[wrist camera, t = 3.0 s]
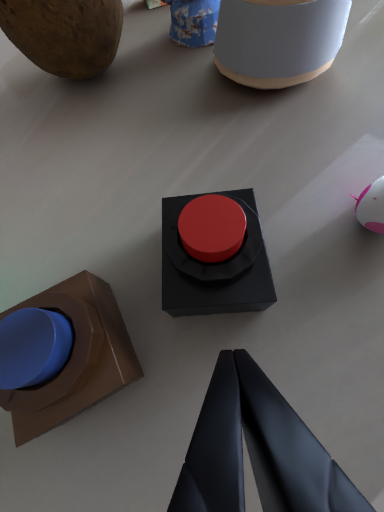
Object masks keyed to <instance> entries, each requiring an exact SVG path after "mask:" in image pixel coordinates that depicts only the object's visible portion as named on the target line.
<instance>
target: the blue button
mask: <svg viewBox="0 0 384 512" xmlns="http://www.w3.org/2000/svg"><path fill="white" fill-rule="evenodd" d="M73 344H74V332H73V328H72V325H71V323H70V322H69V320H68V319H67V318H66V317H65V316H63V315H62V314H60V313H56V312H52V311H48V310H43V309H38V308H23V309H20V310H17V311H15V312H13V313H11V314H9V315H8V316H6V317H5V318H4V319H3V320H2V321H0V389H3V390H11V389H17V388H22V387H26V386H31V385H36V384H40V383H43V382H46V381H48V380H49V379H51V378H53V377H54V376H55V375H56V374H57V373H58V372H59V371H60V370H61V369H62V368H63V367H64V366H65V364H66V363H67V361H68V359H69V357H70V355H71V352H72V349H73Z"/></svg>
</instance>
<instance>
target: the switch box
mask: <svg viewBox="0 0 384 512" xmlns="http://www.w3.org/2000/svg"><path fill="white" fill-rule="evenodd" d="M212 194H213V195H222V196H225V197H228V198H230V199H232V200H233V201H235V202H236V203H237V204H238V205H239V206H240V207H241V208H242V210H243V212H244V214H245V217H246V229H245V233H244V237H243V241H242V244H241V246H240V248H239V250H238V251H237V252H236V253H235V254H234V255H233V256H232V257H231V258H229V259H227V260H225V261H222V262H219V263H205V262H201V261H198V260H196V259H195V258H193V257H192V256H191V255H189V254H188V252H187V251H186V250H185V248H184V246H183V243H182V240H181V237H180V233H179V230H178V220H179V216H180V214H181V212H182V210H183V209H184V207H185V206H186V205H187V204H188V203H189V202H191V201H192V200H194V199H196V198H198V197H200V196H204V195H212ZM275 302H277V297H276V293H275V288H274V283H273V279H272V274H271V269H270V265H269V260H268V255H267V251H266V246H265V241H264V237H263V232H262V227H261V223H260V218H259V213H258V209H257V204H256V199H255V195H254V190H253V188H249V189H240V190H231V191H222V192H213V193H204V194H195V195H186V196H177V197H167V198H162V310H163V311H165V312H166V313H168V314H169V315H170V316H172V317H184V316H198V315H212V314H226V313H240V312H255V311H265V310H266V309H267V308H269V307H270V306H271V305H273V304H274V303H275Z"/></svg>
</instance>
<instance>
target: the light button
mask: <svg viewBox="0 0 384 512" xmlns="http://www.w3.org/2000/svg"><path fill="white" fill-rule="evenodd" d="M245 229H246V217H245V214H244V212H243V210H242V208H241V207H240V206H239V205H238V204H237V203H236V202H235V201H233V200H232V199H230V198H228V197H225V196H222V195H213V194H212V195H204V196H200V197H198V198H196V199H194V200H192V201H191V202H189V203H188V204H187V205H186V206H185V207H184V209H183V210H182V212H181V214H180V216H179V220H178V230H179V233H180V237H181V240H182V243H183V246H184V248H185V250H186V251H187V252H188V254H189V255H191V256H192V257H193V258H195V259H196V260H198V261H201V262H205V263H219V262H222V261H225V260H227V259H229V258H231V257H232V256H233V255H234V254H235V253H236V252H237V251H238V250H239V248H240V246H241V244H242V241H243V237H244V233H245Z"/></svg>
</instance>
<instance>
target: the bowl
mask: <svg viewBox="0 0 384 512" xmlns="http://www.w3.org/2000/svg"><path fill="white" fill-rule="evenodd" d="M123 14H124V11H123V6H122V2H121V0H0V27H1V29H2V31H3V32H4V33H5V35H6V36H7V37H8V39H9V40H10V41H11V42H12V43H13V44H14V45H15V46H16V47H17V48H18V49H19V50H20V51H21V52H22V53H23V54H24V55H25V56H26V57H27V58H28V59H29V60H30V61H32V62H33V63H34V64H35V65H37V66H38V67H39V68H41V69H42V70H44V71H46V72H48V73H50V74H53V75H55V76H57V77H60V78H69V79H88V78H92V77H94V76H97V75H98V74H100V73H101V72H102V71H104V70H105V69H106V68H107V67H108V66H109V65H110V64H111V62H112V61H113V59H114V58H115V55H116V52H117V49H118V45H119V41H120V37H121V30H122V24H123Z"/></svg>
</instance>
